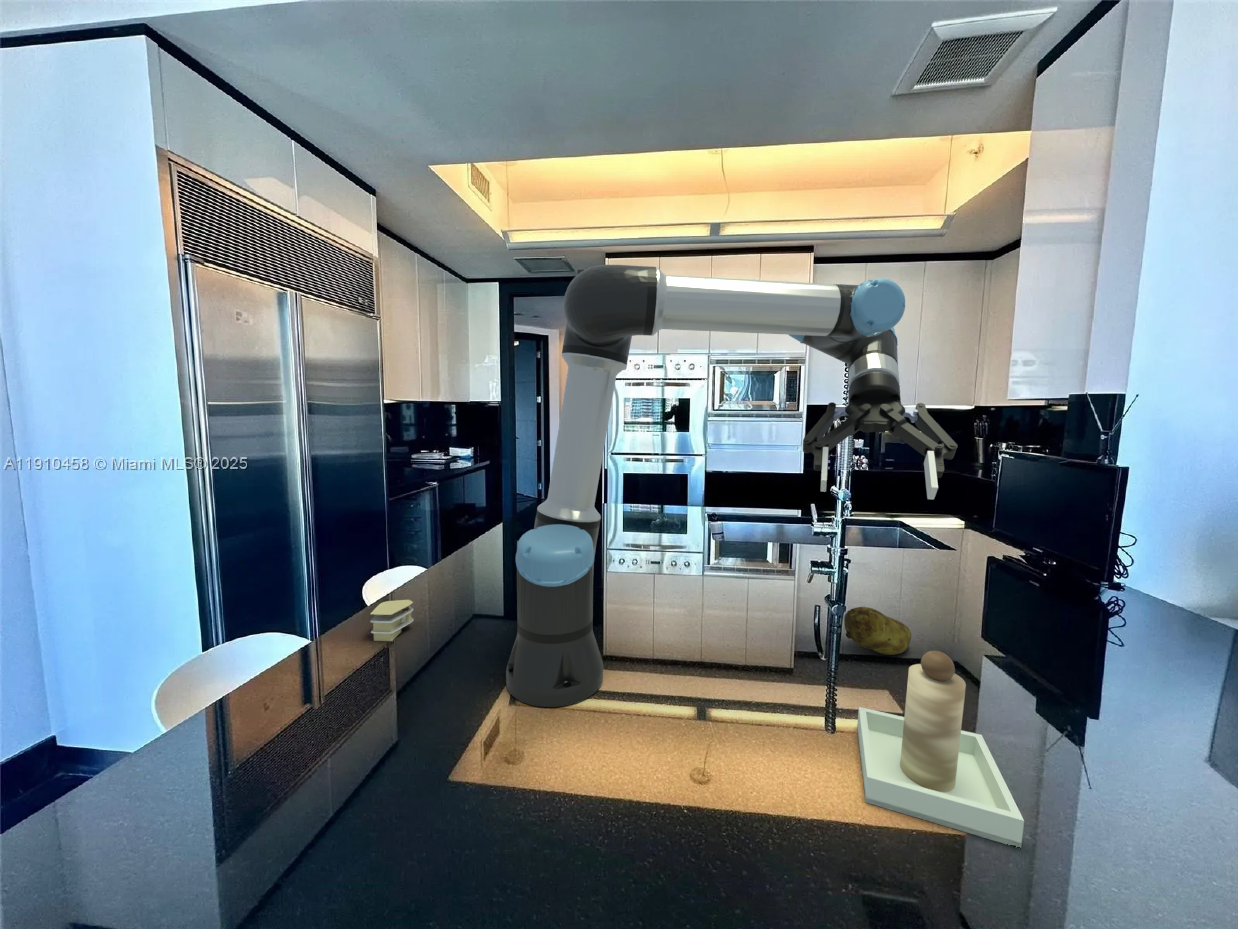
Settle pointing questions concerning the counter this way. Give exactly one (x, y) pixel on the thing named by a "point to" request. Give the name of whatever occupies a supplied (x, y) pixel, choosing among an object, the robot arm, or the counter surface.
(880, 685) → the counter surface
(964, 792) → the bin
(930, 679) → the pepper mill
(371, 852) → the counter surface
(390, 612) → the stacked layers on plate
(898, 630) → the potato
